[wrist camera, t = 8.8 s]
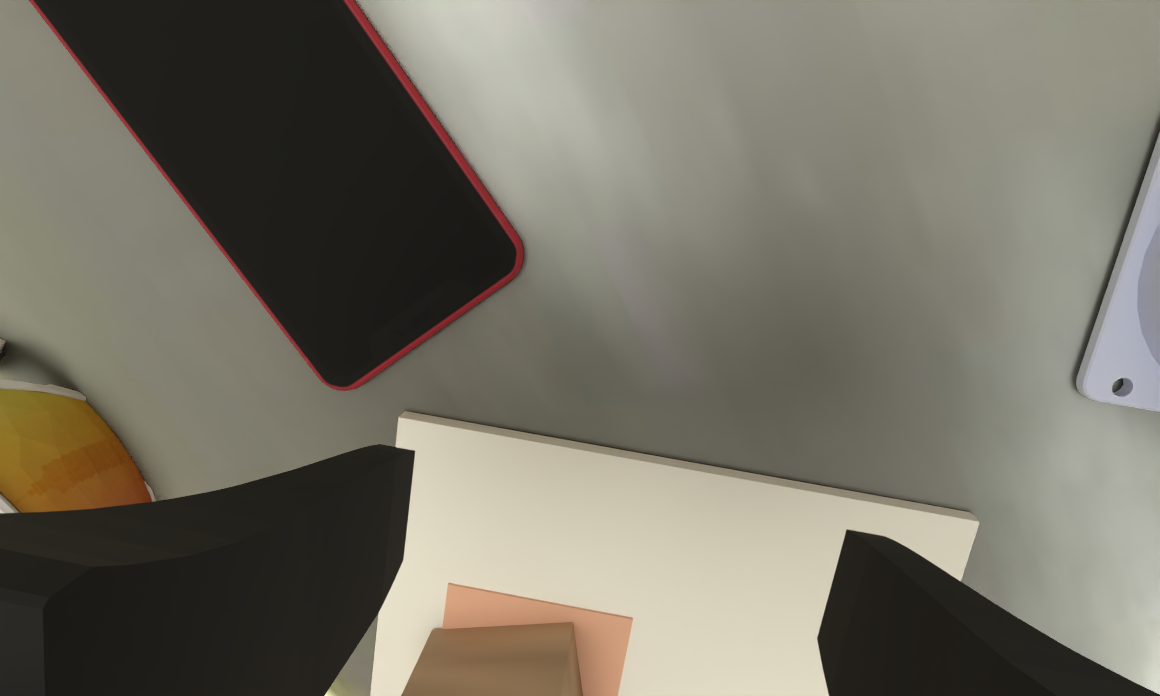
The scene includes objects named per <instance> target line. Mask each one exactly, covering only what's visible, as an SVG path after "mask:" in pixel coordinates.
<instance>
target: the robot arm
mask: <svg viewBox="0 0 1160 696" xmlns="http://www.w3.org/2000/svg"><path fill="white" fill-rule="evenodd" d="M1120 378H1122V379H1123V386H1122V387H1121V389H1120V390H1118V391H1116V392H1113V391H1112V385H1113V384H1114V382H1115V381H1116V380H1118V379H1120ZM1076 386H1077V389H1078V391H1079V392H1080V393H1081V394H1082V395H1083V396H1085V397H1087V398H1089V399H1092V400H1095V401H1098V402H1104V403H1110V404H1116V405H1122V406H1127V407H1133V408H1139V409H1145V410H1151V411H1157V412H1160V133H1159V136H1158V139H1157V142H1156V145H1155V148H1154V151H1153V154H1152V157H1151V159H1150V162H1149V165H1148V168H1147V171H1146V174H1145V177H1144V180H1143V183H1142V186H1141V189H1140V192H1139V195H1138V198H1137V201H1136V204H1135V207H1134V210H1133V213H1132V216H1131V219H1130V222H1129V225H1128V228H1127V231H1126V233H1125V236H1124V239H1123V242H1122V245H1121V248H1120V251H1119V254H1118V257H1117V260H1116V263H1115V266H1114V269H1113V272H1112V275H1111V278H1110V281H1109V284H1108V287H1107V290H1106V293H1105V296H1104V299H1103V302H1102V305H1101V307H1100V310H1099V313H1098V316H1097V319H1096V322H1095V325H1094V328H1093V331H1092V334H1091V337H1090V340H1089V343H1088V346H1087V349H1086V352H1085V355H1084V358H1083V361H1082V364H1081V367H1080V370H1079V373H1078V376H1077V380H1076ZM414 458H415V451H414V450H408V449H403V448H397V447H392V446H386V445H381V444H379V445H372V446H368V447H364V448H360V449H357V450H353V451H350V452H347V453H344V454H340V455H337V456H334V457H331V458H328V459H325V460H322V461H319V462H316V463H313V464H310V465H307V466H304V467H300V468H297V469H294V470H291V471H287V472H284V473H280V474H277V475H273V476H270V477H266V478H263V479H259V480H255V481H252V482H248V483H245V484H241V485H237V486H233V487H229V488H225V489H220V490H216V491H211V492H207V493H201V494H196V495H191V496H185V497H180V498H175V499H168V500H162V501H155V502H146V503H137V504H129V505H120V506H112V507H103V508H95V509H83V510H68V511H51V512H26V513H0V696H324V695H325V694H326V692H327V691H328V689H329V688H330V686H331V685H332V683H333V682H334V680H335V679H336V677H337V675H338V674H339V672H340V671H341V669H342V668H343V666H344V665H345V663H346V662H347V660H348V659H349V657H350V656H351V654H352V653H353V651H354V650H355V648H356V647H357V645H358V644H359V642H360V640H361V639H362V637H363V636H364V634H365V633H366V631H367V630H368V628H369V627H370V625H371V623H372V622H373V620H374V619H375V617H376V616H377V614H378V612H379V611H380V609H381V607H382V605H383V603H384V601H385V599H386V597H387V595H388V593H389V591H390V589H391V587H392V584H393V582H394V580H395V578H396V576H397V573H398V571H399V569H400V567H401V564H402V562H403V560H404V550H405V541H406V532H407V523H408V514H409V504H410V495H411V486H412V477H413V468H414ZM817 641H818V646H819V652H820V657H821V662H822V667H823V672H824V676H825V681H826V685H827V690H828V694H829V696H1160V695H1159V694H1157V693H1155V692H1153V691H1151V690H1149V689H1147V688H1145V687H1142V686H1140V685H1138V684H1136V683H1134V682H1132V681H1130V680H1128V679H1126V678H1125V677H1123V676H1121V675H1119V674H1117V673H1115V672H1113V671H1111V670H1109V669H1107V668H1105V667H1103V666H1101V665H1099V664H1097V663H1096V662H1094V661H1092V660H1090V659H1088V658H1086V657H1084V656H1082V655H1080V654H1078V653H1077V652H1075V651H1073V650H1071V649H1069V648H1068V647H1066V646H1064V645H1062V644H1061V643H1059V642H1057V641H1055V640H1054V639H1052V638H1050V637H1049V636H1047V635H1045V634H1044V633H1042V632H1040V631H1039V630H1037V629H1035V628H1034V627H1032V626H1030V625H1028V624H1027V623H1025V622H1023V621H1022V620H1020V619H1018V618H1017V617H1015V616H1014V615H1012V614H1010V613H1009V612H1007V611H1006V610H1004V609H1002V608H1001V607H999V606H998V605H996V604H994V603H993V602H991V601H990V600H988V599H987V598H985V597H984V596H982V595H980V594H979V593H977V592H976V591H974V590H973V589H971V588H970V587H968V586H967V585H965V584H964V583H962V582H961V581H959V580H958V579H956V578H955V577H953V576H951V575H950V574H948V573H947V572H945V571H944V570H942V569H941V568H939V567H938V566H936V565H935V564H933V563H932V562H930V561H928V560H927V559H925V558H924V557H922V556H921V555H919V554H917V553H916V552H914V551H912V550H911V549H909V548H907V547H906V546H904V545H902V544H900V543H898V542H896V541H894V540H892V539H890V538H888V537H885V536H881V535H876V534H870V533H865V532H859V531H854V530H848V529H847V530H846V533H845V537H844V541H843V544H842V548H841V552H840V556H839V559H838V563H837V567H836V570H835V574H834V578H833V581H832V585H831V589H830V592H829V596H828V600H827V603H826V607H825V611H824V614H823V618H822V622H821V625H820V629H819V633H818V637H817Z"/></svg>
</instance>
